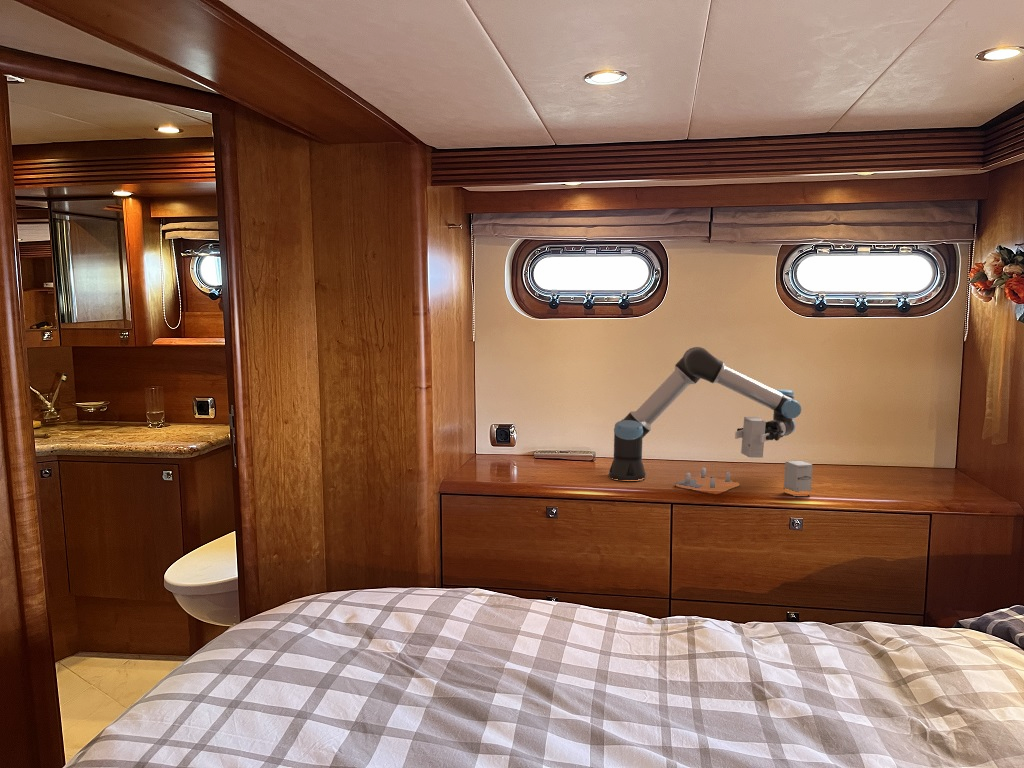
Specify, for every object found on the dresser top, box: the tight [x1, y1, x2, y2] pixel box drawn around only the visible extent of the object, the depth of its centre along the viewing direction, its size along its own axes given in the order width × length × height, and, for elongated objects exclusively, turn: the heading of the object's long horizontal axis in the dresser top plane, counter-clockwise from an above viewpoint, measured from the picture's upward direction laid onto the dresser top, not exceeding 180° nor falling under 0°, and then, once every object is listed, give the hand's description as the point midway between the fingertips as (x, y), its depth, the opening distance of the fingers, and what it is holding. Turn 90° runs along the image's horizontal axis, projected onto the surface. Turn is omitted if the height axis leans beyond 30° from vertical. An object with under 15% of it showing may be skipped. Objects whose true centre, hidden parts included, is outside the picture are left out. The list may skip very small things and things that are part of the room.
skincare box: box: [740, 416, 767, 459], centre depth 291 cm, size 8×6×15 cm
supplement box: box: [783, 460, 814, 492], centre depth 287 cm, size 7×7×13 cm
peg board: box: [674, 467, 731, 488], centre depth 298 cm, size 18×20×6 cm
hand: (748, 436), depth 288 cm, fingers closed on skincare box, 9 cm apart
